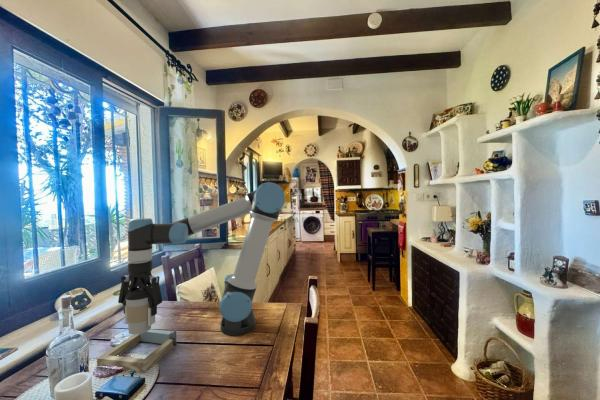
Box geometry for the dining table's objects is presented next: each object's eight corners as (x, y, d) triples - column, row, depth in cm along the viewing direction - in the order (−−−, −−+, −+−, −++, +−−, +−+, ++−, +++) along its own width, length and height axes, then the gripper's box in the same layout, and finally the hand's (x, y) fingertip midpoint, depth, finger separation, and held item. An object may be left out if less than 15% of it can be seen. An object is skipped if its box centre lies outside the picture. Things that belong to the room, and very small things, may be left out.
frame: (178, 343, 98) (178, 335, 98) (145, 372, 81) (145, 363, 81) (137, 339, 101) (137, 332, 101) (96, 367, 84) (96, 358, 84)
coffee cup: (140, 337, 86) (140, 293, 86) (118, 334, 87) (118, 291, 88) (160, 325, 94) (160, 285, 95) (139, 322, 96) (139, 283, 96)
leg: (172, 342, 98) (172, 331, 98) (168, 344, 97) (168, 334, 97) (144, 338, 101) (144, 328, 101) (140, 341, 99) (140, 330, 99)
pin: (177, 343, 98) (177, 330, 98) (174, 345, 96) (174, 332, 96) (173, 343, 98) (173, 330, 98) (170, 345, 96) (170, 332, 97)
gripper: (173, 259, 93) (173, 320, 93) (123, 257, 96) (123, 316, 96) (159, 264, 86) (159, 330, 86) (105, 262, 89) (105, 326, 89)
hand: (140, 323), depth 91 cm, fingers closed on coffee cup, 8 cm apart
